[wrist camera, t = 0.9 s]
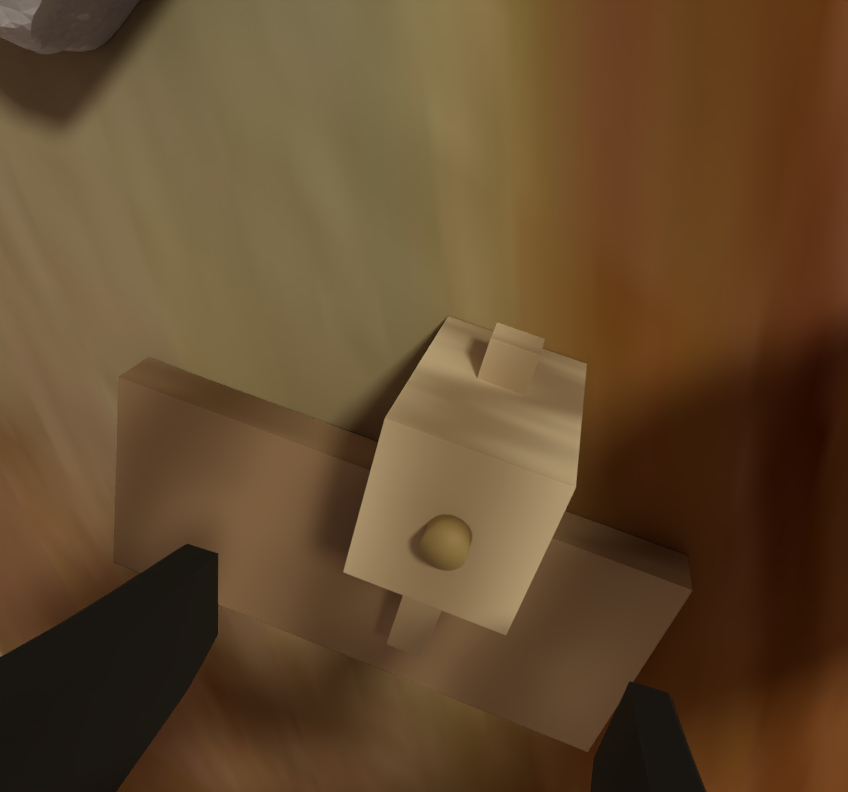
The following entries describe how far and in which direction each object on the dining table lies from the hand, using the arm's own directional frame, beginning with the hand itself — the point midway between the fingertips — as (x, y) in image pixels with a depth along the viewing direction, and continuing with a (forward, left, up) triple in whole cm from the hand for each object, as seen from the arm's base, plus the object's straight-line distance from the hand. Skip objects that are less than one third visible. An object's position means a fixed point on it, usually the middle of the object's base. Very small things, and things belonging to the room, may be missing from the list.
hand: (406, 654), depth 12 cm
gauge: (0, +2, -9) cm, 10 cm away
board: (+2, +7, -9) cm, 12 cm away
